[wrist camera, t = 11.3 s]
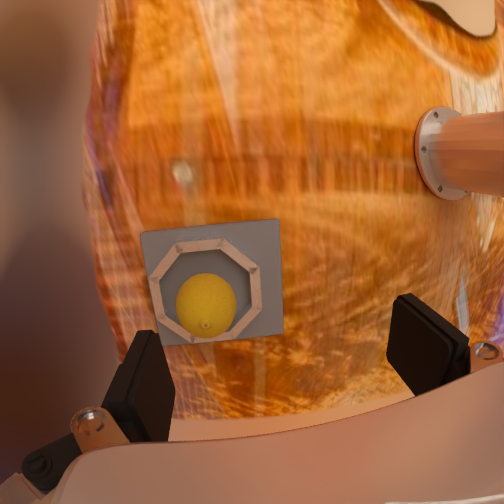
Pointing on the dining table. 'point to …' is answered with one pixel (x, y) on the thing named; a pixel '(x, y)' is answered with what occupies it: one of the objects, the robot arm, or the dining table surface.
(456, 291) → the dining table surface
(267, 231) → the board
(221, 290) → the lemon
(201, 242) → the ring
